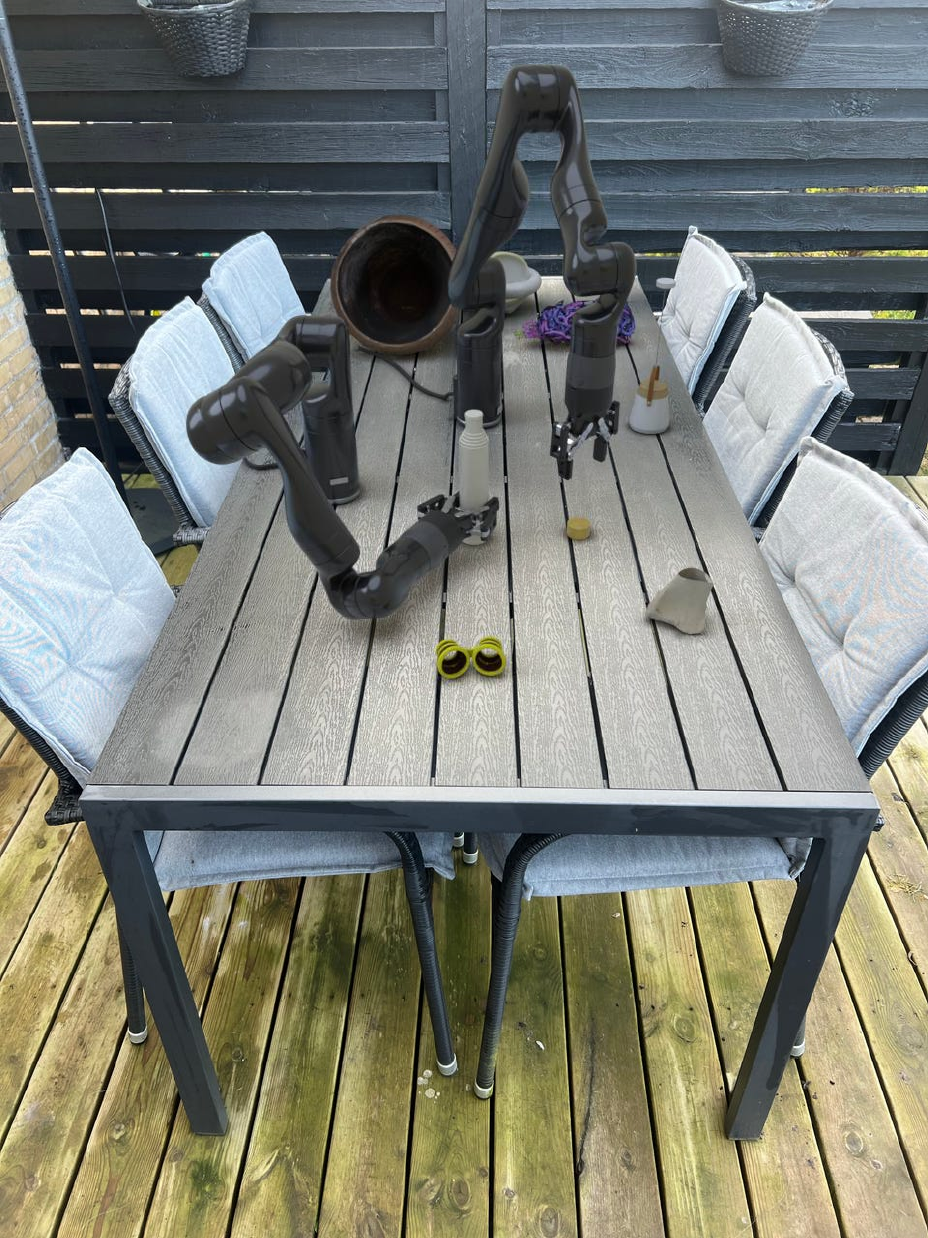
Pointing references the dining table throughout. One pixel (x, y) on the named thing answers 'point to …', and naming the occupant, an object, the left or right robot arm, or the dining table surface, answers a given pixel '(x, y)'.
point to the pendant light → (652, 393)
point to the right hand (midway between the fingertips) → (582, 469)
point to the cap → (578, 528)
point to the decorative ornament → (569, 324)
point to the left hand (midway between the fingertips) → (481, 497)
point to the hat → (517, 279)
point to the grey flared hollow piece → (683, 601)
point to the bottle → (473, 467)
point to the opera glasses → (462, 658)
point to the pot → (395, 285)
